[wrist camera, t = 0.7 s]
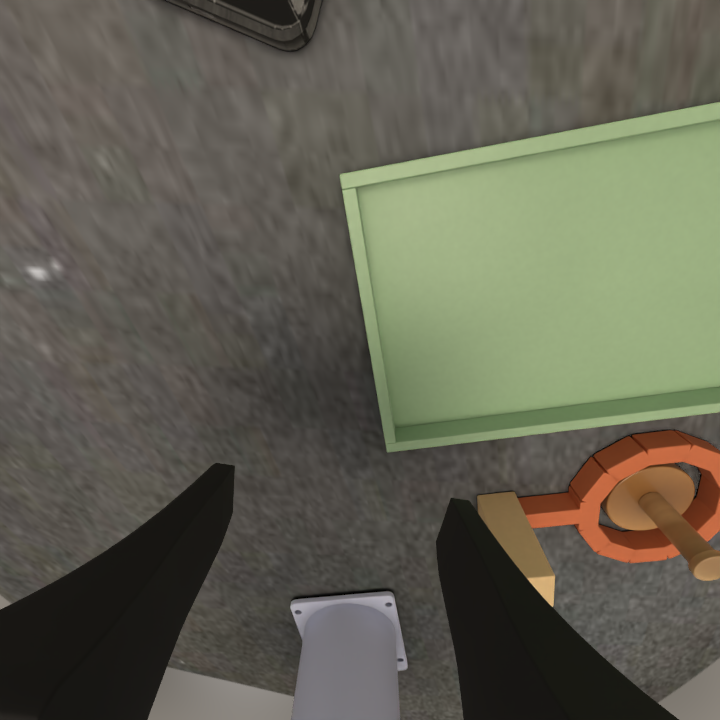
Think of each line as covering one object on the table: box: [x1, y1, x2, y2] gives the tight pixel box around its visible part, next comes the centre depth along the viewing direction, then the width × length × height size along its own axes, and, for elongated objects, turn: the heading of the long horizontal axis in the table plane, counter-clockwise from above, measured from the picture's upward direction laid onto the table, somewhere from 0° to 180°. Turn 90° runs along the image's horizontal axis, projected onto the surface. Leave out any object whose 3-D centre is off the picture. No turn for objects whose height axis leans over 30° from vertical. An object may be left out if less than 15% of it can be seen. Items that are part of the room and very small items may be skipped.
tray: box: [339, 102, 720, 452], centre depth 18 cm, size 14×21×2 cm
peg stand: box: [601, 463, 720, 581], centre depth 22 cm, size 5×5×6 cm
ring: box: [477, 430, 720, 607], centre depth 22 cm, size 9×15×6 cm, turn 100°
